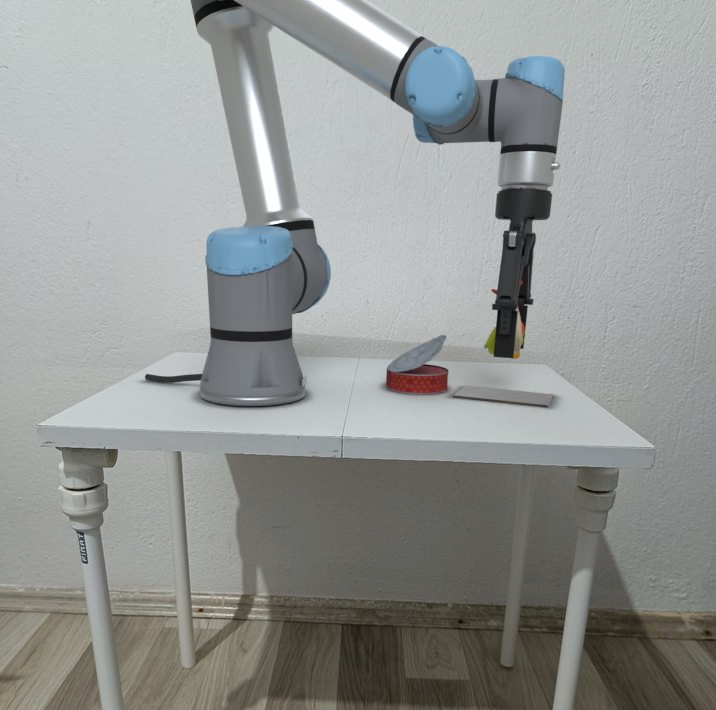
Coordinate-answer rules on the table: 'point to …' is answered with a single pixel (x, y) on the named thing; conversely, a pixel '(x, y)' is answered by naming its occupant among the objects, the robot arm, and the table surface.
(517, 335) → the bird rattle
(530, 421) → the table surface
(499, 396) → the flat grey rectangular slab
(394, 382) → the canned food
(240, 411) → the table surface
